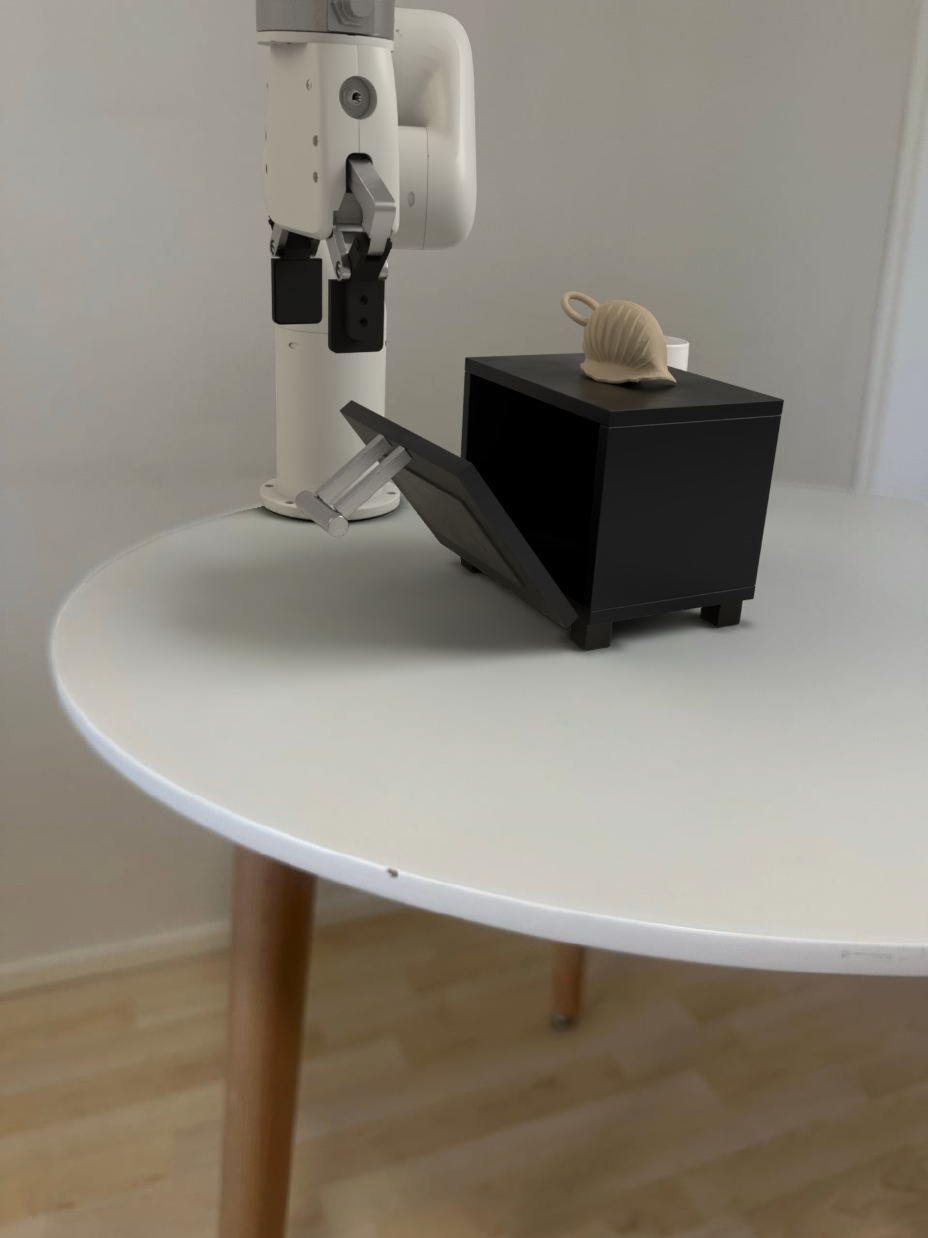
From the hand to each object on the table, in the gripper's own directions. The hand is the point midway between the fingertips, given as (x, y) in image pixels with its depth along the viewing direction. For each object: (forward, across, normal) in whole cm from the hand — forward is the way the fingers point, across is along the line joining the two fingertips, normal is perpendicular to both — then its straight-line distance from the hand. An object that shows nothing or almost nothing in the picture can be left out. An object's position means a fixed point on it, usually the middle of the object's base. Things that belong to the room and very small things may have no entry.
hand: (324, 336), depth 70 cm
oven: (+19, -1, -21) cm, 29 cm away
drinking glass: (+20, +19, -39) cm, 48 cm away
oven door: (+19, -1, -10) cm, 22 cm away
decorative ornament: (+4, -1, -21) cm, 21 cm away
